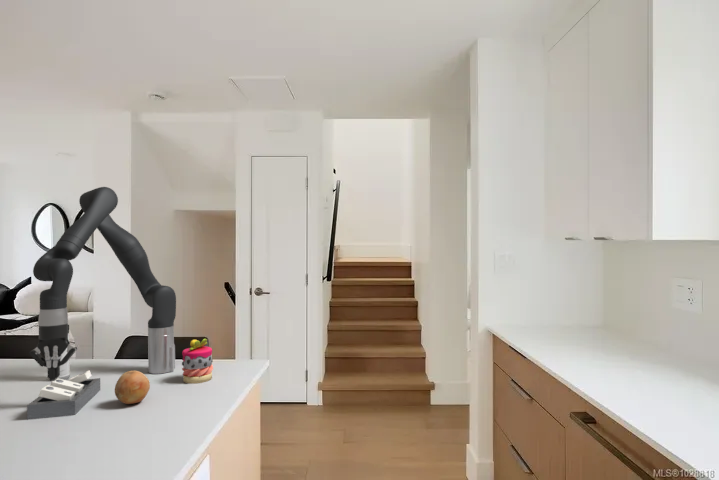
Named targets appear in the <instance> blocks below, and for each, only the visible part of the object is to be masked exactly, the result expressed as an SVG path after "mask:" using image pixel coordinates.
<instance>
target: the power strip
mask: <svg viewBox="0 0 719 480" xmlns="http://www.w3.org/2000/svg"><path fill="white" fill-rule="evenodd" d="M79 384H83V385H84V387H83V389H82V390H81V391H80V392H76V393H75V395H74V397H73V398H72V399H71V400H60V401H57V400H53V399H48V398H44V397H40V396H39V395H38V397H37V398H35V399H34V400H31V402H29V403H28V404H27V405H26V407H27V408H26V409H27V411H26V412H27V414H26V415H27V420H36V419H43V418H44V419H46V418H56V417H58V418H59V417H65V416H66V417H68V416H76V414H77V413H79V412H80V411H81V410H82V409H83V408H84V407H85V406H86V405H87V404H88V403H89V402H90V401H91V400H92V399H93V398H94V397H95V396H96V395H97V394H98V393H99V392H100V391H101V377H99V378H88V379H87V380H85V381H82V382H80V383H79Z"/></svg>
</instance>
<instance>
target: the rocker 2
mask: <svg viewBox="0 0 719 480" xmlns="http://www.w3.org/2000/svg"><path fill="white" fill-rule="evenodd" d="M92 376H93V375H92V372H91V370H89V369H88V370H87V371H83V372H82V373H79V374H77V375H74V376H72V377H71V376H70V377H69V378H68V379H65V380H67V381H71V382H75V383H80V382H82V381H85V380H87V379H91V377H92Z"/></svg>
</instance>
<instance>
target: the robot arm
mask: <svg viewBox="0 0 719 480" xmlns="http://www.w3.org/2000/svg"><path fill="white" fill-rule="evenodd" d="M118 198H119V197H118V195H117V193H116V191H115V190H114V189H113V188H110V187H107V186H101V187H97V188H93V189H91V190H89V191H86V192H84V193H82V194H81V195H80V197H79V200H78V201H79V206H80V208H81V210H82V213H83V214H81V216H80V217H79V218H78V219H77V220H75V221H74V222H73V223H72V224H71V225H70V226H69V227H68V228H67V229H66V230H65V231H64V232H63V234H62V235H61V236H60V238H59V239H58V240H57V242H56V244H55V245H54V246H53V247H51V248H50V249H48V251H46V252H45V253H44V254H42V255H41V256H40V257H39V258H38V259H37V261H36V262H35V263H34V266H33V269H32V274H33V276H34V277H35V279H36V280H38V281H41V282H52V283H51V286H50V288H48V289H44V290H42V291H40V294H39V312H38V313H39V314H38V322H37V323H38V343H37V344H36V347H34V349H32V350H30V351H29V352H28V354H29V356H31V357H32V359H33V360H34V361H35V362H36V363H37V364H38V365H39V366H40V367H44V368H47V379H49V381H51V380H56V379H57V378H58V377H59V375H60V366H61V365H63V364H65V363H66V362H67V361H68V360H69V359H70V358H72V357H73V355H74V354H75V353H76V351H77V350H78V347H77V346H73V345H71V344H70V342H71V341H70V340H69V341H68V325H69V314H68V313H69V312H68V296H67V295H68V291H69V289H70V285H71V282H72V279H73V274H74V268H73V267H74V266H73V264H72V263H71V262H70V261H72V260H75V259H76V258H77V257H78V256H79V255H80V252H81V251H82V250H83V248H84V247H85V246H86V243H88V241H89V239H90V238H91V237H92V235H93V233H94V232H95V231H96V230H98V232H99V233H100V234H101V236H102V237H103V238H104V240H105V241H106V242H107V244H108V245H109V247H110V248H111V249H112V251H113V253H114V255H115V256H116V258H117V260H118V261H119V263H120V264H121V265H122V266H123V268H124V270H125V271H126V272H127V274H128V275H129V277H130V278H131V279H132V280H133V281H134V284H135V285H136V286H137V288H138V289H137V290H138V291H139V293H140V294H141V297H142V298H143V300H144V302H145V304H146V305H147V306H148V307H150V308H151V309H152V310H151V317H150V318H149V319H148V320H147V345H148V346H147V348H148V351H147V353H148V355H147V356H148V357H147V358H148V359H147V360H148V361H147V362H148V364H147V365H148V367H147V368H148V373H149V374H154V375H155V374H157V375H158V374H159V375H160V374H164V373H169V372H170V373H172V372H174V370H175V369H176V344H175V338H174V337H175V336H174V335H175V331H174V330H175V328H174V326H175V325H174V321H175V319H176V316H177V296H176V291H175V290H174V288H172V287H171V286H168V285H162V284H161V283H160V282H159V281H158V279H157V277H156V276H155V275H154V273H153V272H152V269H151V267H150V261H149V257H148V255H147V253H146V251H145V249H144V247H143V245H142V244H141V242H140V240H138V238H137V237H136V236H134V235H133V234H132V233H131V232H129V231H128V230H126V229H124V228H123V227H121V226H120V225H118V224H117V223H116V222H115V220H114V219H113V218H112V217H111V215H110V214H112V212H113V211H115V209H116V208H117V206H118V203H119V199H118ZM66 349H67V354H66V355H65V357H64V358H63V359H62V360H61V357H62V354H63V352H64V351H65V350H66Z"/></svg>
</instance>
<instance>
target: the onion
mask: <svg viewBox="0 0 719 480" xmlns="http://www.w3.org/2000/svg"><path fill="white" fill-rule="evenodd" d="M150 383H151V382H150V380H149V378H148V377H147V375H145V373H143V372H141V371H139V370H128V371H126V372H124V373H122V374H121V376H120V377H119V378H118V380H117V381H116V383H115V386H114V395H115V398H116V399H118V400H117V401H120V403H123V404H125V405H133V404H137V403H140V402H142V401H143V400H144V399H145V398H146V396H147V395H148V393H149V391H150V388H151V384H150Z"/></svg>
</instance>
